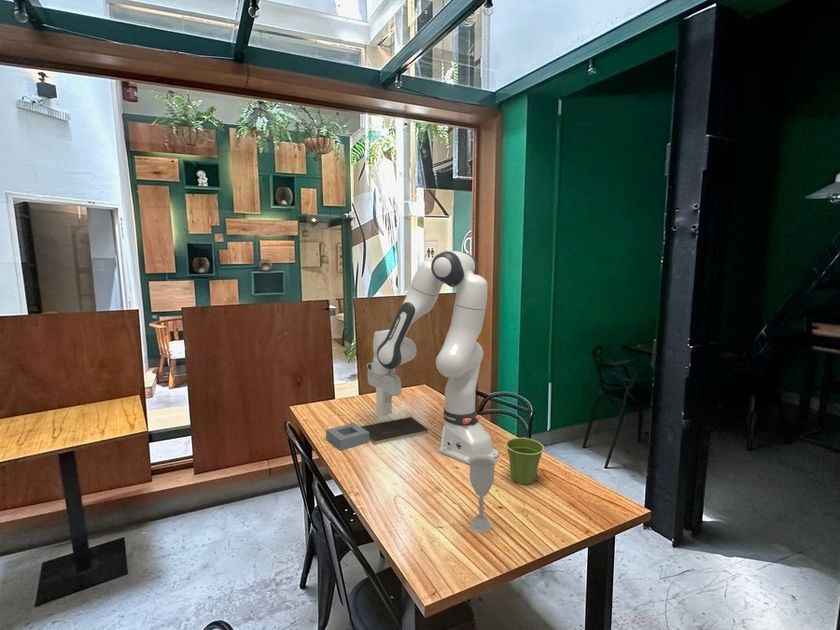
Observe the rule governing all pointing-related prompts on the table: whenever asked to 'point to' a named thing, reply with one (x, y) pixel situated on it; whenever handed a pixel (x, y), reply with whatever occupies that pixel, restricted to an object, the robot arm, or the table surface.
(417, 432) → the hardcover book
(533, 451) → the plant pot
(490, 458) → the chalice
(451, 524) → the table surface
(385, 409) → the cream block
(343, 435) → the holder
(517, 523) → the table surface
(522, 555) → the table surface
